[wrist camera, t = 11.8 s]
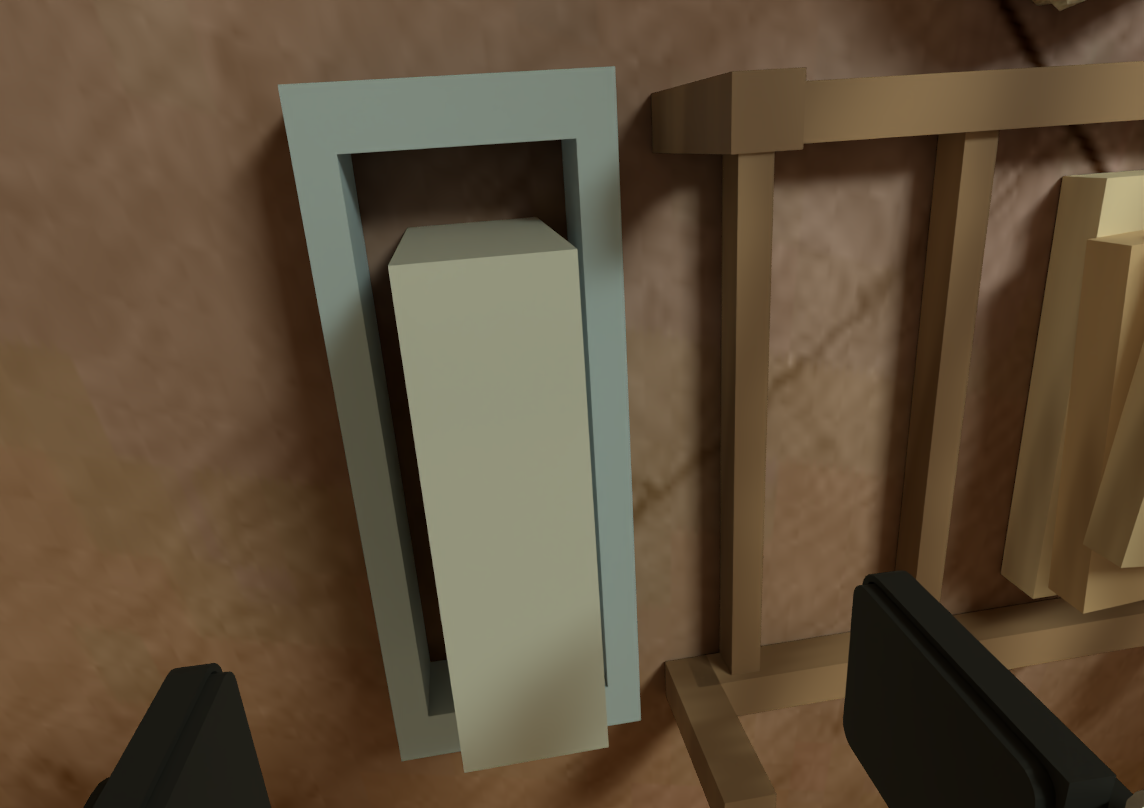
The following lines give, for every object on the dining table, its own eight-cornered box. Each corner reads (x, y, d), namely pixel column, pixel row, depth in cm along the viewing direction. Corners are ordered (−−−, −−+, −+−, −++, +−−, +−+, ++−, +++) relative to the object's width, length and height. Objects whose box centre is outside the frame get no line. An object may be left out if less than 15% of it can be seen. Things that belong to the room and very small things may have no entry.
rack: (1338, 52, 22) (1637, 19, 17) (1191, 607, 29) (1368, 717, 23) (651, 93, 20) (732, 71, 14) (666, 695, 26) (724, 843, 21)
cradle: (594, 76, 19) (615, 66, 17) (623, 668, 26) (641, 720, 23) (299, 92, 18) (277, 84, 16) (406, 703, 25) (401, 761, 22)
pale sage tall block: (535, 216, 20) (577, 249, 14) (565, 586, 24) (608, 746, 18) (407, 227, 20) (388, 265, 13) (459, 602, 24) (464, 772, 17)
